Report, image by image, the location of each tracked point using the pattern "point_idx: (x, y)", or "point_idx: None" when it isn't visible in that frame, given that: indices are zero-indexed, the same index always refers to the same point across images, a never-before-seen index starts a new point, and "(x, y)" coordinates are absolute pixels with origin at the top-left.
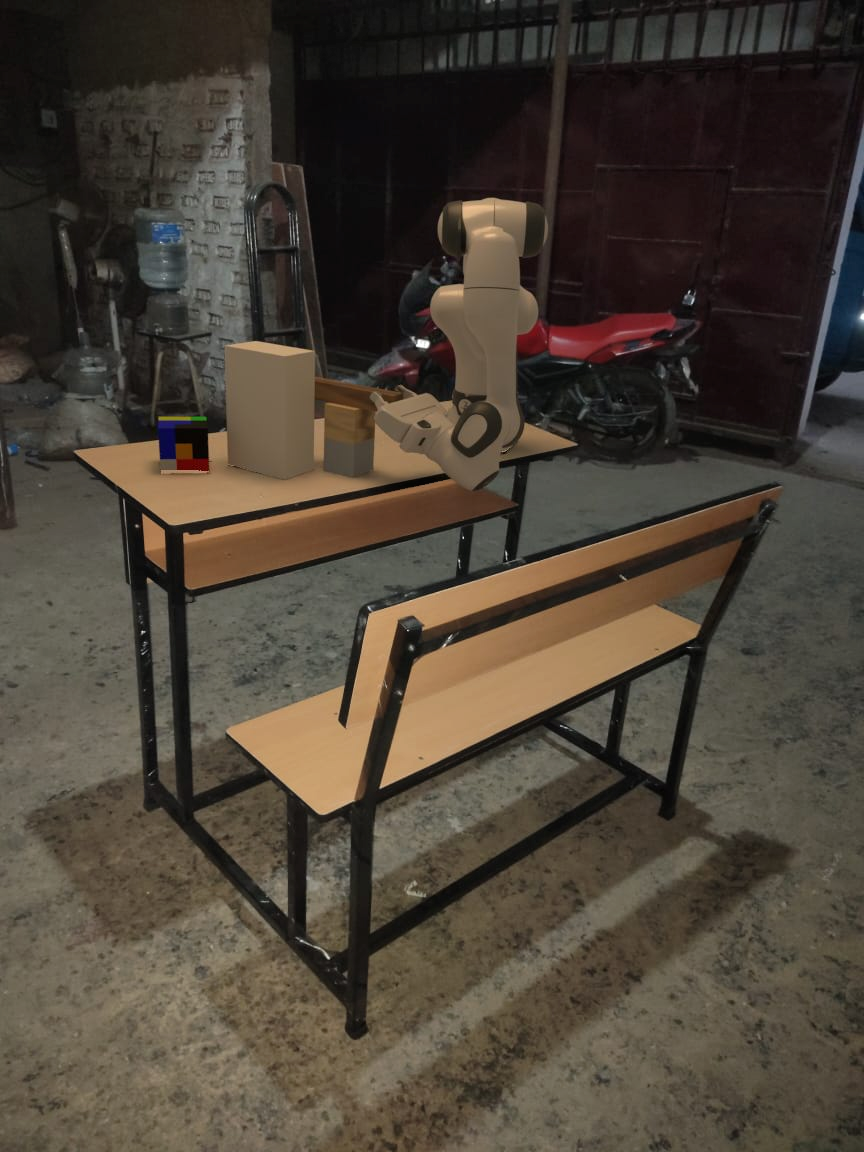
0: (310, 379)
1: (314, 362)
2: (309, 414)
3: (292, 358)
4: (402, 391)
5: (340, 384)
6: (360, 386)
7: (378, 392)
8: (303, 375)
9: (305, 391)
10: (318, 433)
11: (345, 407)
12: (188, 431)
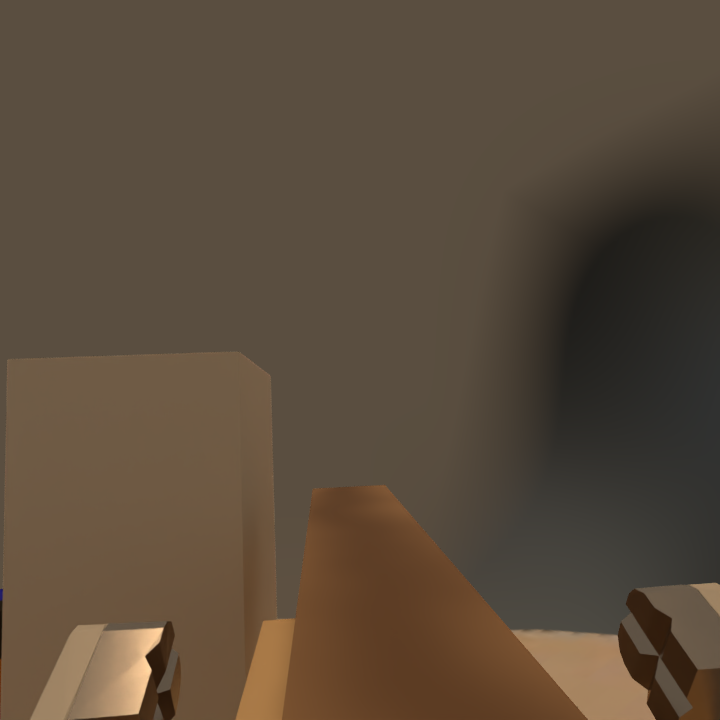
0: (207, 483)
1: (236, 404)
2: (205, 661)
3: (62, 372)
4: (705, 686)
5: (343, 522)
6: (398, 546)
7: (143, 645)
8: (149, 459)
9: (167, 538)
10: (626, 699)
11: (259, 684)
12: (1, 620)
